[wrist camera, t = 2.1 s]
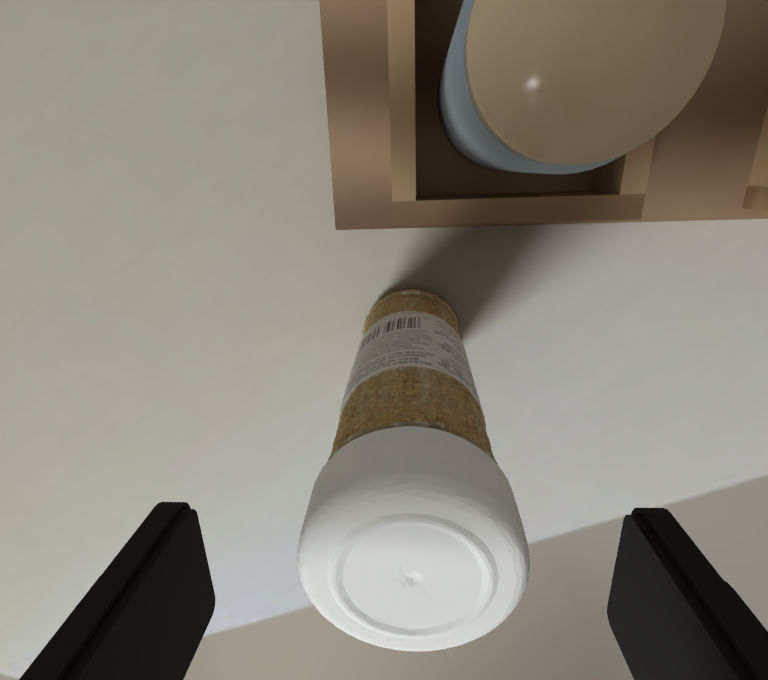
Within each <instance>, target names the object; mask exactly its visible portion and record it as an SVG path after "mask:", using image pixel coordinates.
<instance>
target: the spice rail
mask: <svg viewBox="0 0 768 680" xmlns="http://www.w3.org/2000/svg"><path fill="white" fill-rule="evenodd" d="M319 1H320V15H321V29H322V43H323V57H324V71H325V85H326V99H327V113H328V127H329V141H330V155H331V169H332V183H333V197H334V211H335V225H336V230H349V229H387V228H425V227H463V226H501V225H539V224H577V223H615V222H653V221H691V220H729V219H767V218H768V0H727V1H726V11H725V18H724V25H723V29H722V33H721V36H720V40H719V44H718V47H717V49H716V52H715V55H714V57H713V60H712V63H711V65H710V67H709V69H708V71H707V73H706V75H705V77H704V79H703V81H702V82H701V84H700V85H699V87H698V88H697V90H696V92H695V93H694V95H693V96H692V98H691V99H690V100H689V102H688V103H687V104H686V105H685V107H684V108H683V109H682V110H681V112H680V113H679V114H678V115H677V116H676V117H675V118H674V119H673V120H672V121H671V122H670V123H669V124H668V125H667V126H666V127H665V128H663V129H662V130H661V131H660V132H659V133H657V134H656V135H655V136H654V137H652V138H651V139H649V140H648V141H646V142H645V143H643V144H642V145H640V146H639V147H637V148H635V149H633V150H631V151H629V152H627V153H625V154H624V155H622V156H621V157H619V158H617V159H615V160H613V161H611V162H609V163H607V164H605V165H602V166H600V167H597V168H594V169H591V170H587V171H583V172H579V173H571V174H541V173H525V172H509V171H494V170H488V169H484V168H481V167H478V166H476V165H474V164H472V163H470V162H469V161H467V160H466V159H464V158H463V157H462V156H461V155H460V154H459V153H457V152H456V150H455V149H454V148H453V147H452V145H451V144H450V143H449V141H448V139H447V138H446V136H445V133H444V131H443V129H442V126H441V123H440V119H439V114H438V106H437V94H438V85H439V79H440V76H441V72H442V69H443V66H444V63H445V59H446V56H447V53H448V50H449V46H450V43H451V40H452V37H453V34H454V30H455V27H456V24H457V21H458V18H459V14H460V11H461V8H462V5H463V1H464V0H319Z"/></svg>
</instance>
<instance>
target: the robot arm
mask: <svg viewBox="0 0 768 680" xmlns="http://www.w3.org/2000/svg"><path fill="white" fill-rule="evenodd" d="M214 607H215V594H214V589H213V585H212V580H211V575H210V571H209V566H208V562H207V557H206V552H205V548H204V543H203V538H202V534H201V529H200V525H199V520H198V515H197V512H196V511H195V510H194V509H191V508H190V506H189V504H188V503H185V502H161V503H158V504H157V505H156V506H155V507H154V509H153V510H152V511H151V512H150V514H149V515H148V516H147V518H146V519H145V520H144V521H143V523H142V524H141V525H140V527H139V528H138V529H137V530H136V532H135V533H134V534H133V535H132V537H131V538H130V539H129V541H128V542H127V543H126V544H125V546H124V547H123V548H122V550H121V551H120V552H119V553H118V555H117V556H116V557H115V558H114V560H113V561H112V562H111V564H110V565H109V566H108V567H107V569H106V570H105V571H104V573H103V574H102V575H101V576H100V577H99V578H98V580H97V581H96V582H95V583H94V585H93V586H92V587H91V589H90V590H89V591H88V592H87V594H86V595H85V596H84V598H83V599H82V600H81V601H80V603H79V604H78V605H77V606H76V608H75V609H74V610H73V612H72V613H71V614H70V615H69V617H68V618H67V619H66V621H65V622H64V623H63V624H62V626H61V627H60V628H59V629H58V631H57V632H56V633H55V635H54V636H53V637H52V638H51V640H50V641H49V642H48V644H47V645H46V646H45V647H44V649H43V650H42V651H41V652H40V654H39V655H38V656H37V658H36V659H35V660H34V661H33V663H32V664H31V665H30V667H29V668H28V669H27V670H26V672H25V673H24V674H23V675H22V677H21V678H20V679H19V680H183V679H184V677H185V674H186V672H187V670H188V668H189V666H190V663H191V661H192V659H193V657H194V655H195V652H196V650H197V648H198V646H199V644H200V641H201V639H202V637H203V635H204V633H205V630H206V628H207V626H208V624H209V622H210V619H211V617H212V615H213V612H214ZM607 614H608V619H609V623H610V626H611V629H612V631H613V633H614V635H615V638H616V640H617V642H618V644H619V646H620V649H621V651H622V653H623V656H624V658H625V660H626V662H627V664H628V667H629V669H630V671H631V673H632V676H633V678H634V680H768V632H767V630H766V629H765V628H764V627H763V626H762V624H761V623H760V621H759V620H758V619H757V618H756V616H755V615H754V614H753V613H752V612H751V610H750V609H749V608H748V607H747V605H746V604H745V603H744V601H743V600H742V599H741V598H740V596H739V595H738V594H737V593H736V591H735V590H734V589H733V588H732V587H731V586H730V585H729V584H728V583H727V582H725V581H724V580H723V579H722V578H721V577H720V575H719V574H718V573H717V572H716V570H715V569H714V568H713V566H712V565H711V564H710V563H709V561H708V560H707V559H706V558H705V556H704V555H703V554H702V553H701V551H700V550H699V549H698V547H697V546H696V545H695V543H694V542H693V541H692V540H691V538H690V537H689V536H688V535H687V533H686V532H685V531H684V529H683V528H682V527H681V526H680V524H679V523H678V522H677V521H676V519H675V518H674V517H673V516H672V514H671V513H670V512H669V511H668V510H667V509H664V508H635V509H634V510H633V511H632V514H631V515H626V516H625V517H624V521H623V526H622V531H621V537H620V542H619V547H618V553H617V558H616V563H615V568H614V574H613V579H612V585H611V590H610V595H609V601H608V607H607Z"/></svg>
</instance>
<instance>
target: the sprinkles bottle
mask: <svg viewBox="0 0 768 680" xmlns="http://www.w3.org/2000/svg"><path fill="white" fill-rule="evenodd" d="M297 560H298V569H299V574H300V578H301V581H302V584H303V587H304V589H305V591H306V593H307V595H308V597H309V598H310V600H311V601H312V603H313V604H314V605H315V607H316V608H317V609H318V611H319V612H320V613H321V614H322V615H323V616H324V617H325V618H326V619H327V620H329V621H330V622H331V623H333V624H334V625H335V626H336V627H338V628H339V629H341V630H343V631H344V632H346V633H347V634H349V635H351V636H353V637H355V638H357V639H359V640H362V641H365V642H367V643H370V644H373V645H376V646H381V647H385V648H389V649H395V650H403V651H433V650H442V649H446V648H450V647H455V646H459V645H462V644H465V643H467V642H469V641H472V640H475V639H477V638H479V637H481V636H483V635H485V634H487V633H488V632H490V631H491V630H493V629H494V628H495V627H497V626H498V625H499V624H500V623H501V622H502V621H504V620H505V618H506V617H508V616H509V614H510V613H511V612H512V611H513V610H514V608H515V607H516V605H517V604H518V602H519V600H520V598H521V597H522V595H523V593H524V590H525V588H526V585H527V582H528V575H529V567H530V560H529V550H528V544H527V540H526V536H525V533H524V529H523V525H522V521H521V518H520V515H519V511H518V508H517V505H516V502H515V498H514V495H513V492H512V489H511V486H510V484H509V481H508V479H507V478H506V476H505V475H504V473H503V471H502V470H501V469H500V468H499V466H498V464H497V462H496V460H495V459H494V456H493V453H492V451H491V446H490V441H489V438H488V436H487V433H486V424H485V419H484V415H483V411H482V408H481V404H480V401H479V398H478V394H477V391H476V388H475V384H474V381H473V377H472V373H471V370H470V366H469V363H468V359H467V355H466V352H465V349H464V345H463V343H462V341H461V339H460V332H459V324H458V320H457V318H456V315H455V313H454V312H453V311H452V309H451V307H450V306H449V305H448V303H447V302H445V301H444V300H442V299H441V298H440V297H438V296H437V295H435V294H432V293H430V292H428V291H423V290H419V289H407V290H399V291H397V292H395V293H390V294H388V295H386V296H385V297H384V298H382V299H381V300H379V301H378V302H377V303H376V304H375V305H374V306H373V308H372V309H371V311H370V313H369V315H367V317H366V320H365V323H364V327H363V338H362V339H361V341H360V344H359V347H358V350H357V353H356V356H355V360H354V363H353V366H352V370H351V373H350V376H349V380H348V383H347V387H346V390H345V394H344V397H343V400H342V404H341V408H340V419H339V425H338V429H337V433H336V437H335V440H334V443H333V449H332V453H331V455H330V457H329V460H328V462H327V463H326V464H325V466H324V467H323V468H322V470H321V472H320V473H319V475H318V477H317V480H316V482H315V484H314V487H313V490H312V494H311V497H310V501H309V505H308V508H307V512H306V515H305V519H304V523H303V527H302V531H301V535H300V540H299V546H298V552H297Z"/></svg>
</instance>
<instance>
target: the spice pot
mask: <svg viewBox="0 0 768 680" xmlns="http://www.w3.org/2000/svg"><path fill="white" fill-rule="evenodd" d="M726 1H727V0H464V1H463V5H462V8H461V11H460V14H459V18H458V21H457V24H456V27H455V30H454V34H453V37H452V40H451V43H450V46H449V50H448V53H447V56H446V59H445V63H444V66H443V69H442V72H441V76H440V79H439V85H438V94H437V106H438V114H439V119H440V123H441V126H442V129H443V131H444V133H445V136H446V138H447V139H448V141H449V143H450V144H451V145H452V147H453V148H454V149H455V150H456V152H457V153H459V154H460V155H461V156H462V157H463V158H464V159H466V160H467V161H469V162H470V163H472V164H474V165H476V166H478V167H481V168H484V169H488V170H494V171H509V172H525V173H541V174H571V173H579V172H583V171H587V170H591V169H594V168H597V167H600V166H602V165H605V164H607V163H609V162H611V161H613V160H615V159H617V158H619V157H621V156H622V155H624V154H625V153H627V152H629V151H631V150H633V149H635V148H637V147H639V146H640V145H642V144H643V143H645V142H646V141H648V140H649V139H651V138H652V137H654V136H655V135H656V134H657V133H659V132H660V131H661V130H662V129H663V128H665V127H666V126H667V125H668V124H669V123H670V122H671V121H672V120H673V119H674V118H675V117H676V116H677V115H678V114H679V113H680V112H681V110H682V109H683V108H684V107H685V105H686V104H687V103H688V102H689V100H690V99H691V98H692V96H693V95H694V93H695V92H696V90H697V88H698V87H699V85H700V84H701V82H702V81H703V79H704V77H705V75H706V73H707V71H708V69H709V67H710V65H711V63H712V60H713V57H714V55H715V52H716V49H717V47H718V44H719V40H720V36H721V33H722V29H723V25H724V18H725V11H726Z"/></svg>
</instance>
